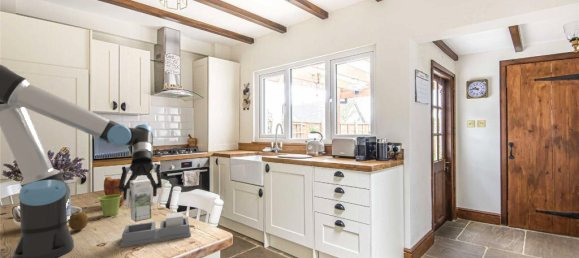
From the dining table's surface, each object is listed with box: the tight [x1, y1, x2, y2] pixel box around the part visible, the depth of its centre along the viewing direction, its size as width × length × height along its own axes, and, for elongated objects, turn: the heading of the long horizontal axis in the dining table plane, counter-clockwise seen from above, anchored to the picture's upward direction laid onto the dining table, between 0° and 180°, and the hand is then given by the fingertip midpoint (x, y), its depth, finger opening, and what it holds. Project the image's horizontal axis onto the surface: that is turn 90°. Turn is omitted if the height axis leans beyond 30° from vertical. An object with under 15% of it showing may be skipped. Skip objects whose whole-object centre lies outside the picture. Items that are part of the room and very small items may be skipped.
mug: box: [103, 176, 126, 207], centre depth 154 cm, size 15×8×15 cm, turn 58°
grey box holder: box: [119, 211, 192, 248], centre depth 108 cm, size 23×11×7 cm, turn 112°
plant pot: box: [97, 195, 122, 218], centre depth 137 cm, size 9×9×9 cm
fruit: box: [68, 210, 89, 232], centre depth 116 cm, size 6×6×8 cm
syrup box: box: [130, 177, 152, 223], centre depth 106 cm, size 6×6×14 cm
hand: (139, 204), depth 103 cm, fingers closed on syrup box, 7 cm apart
